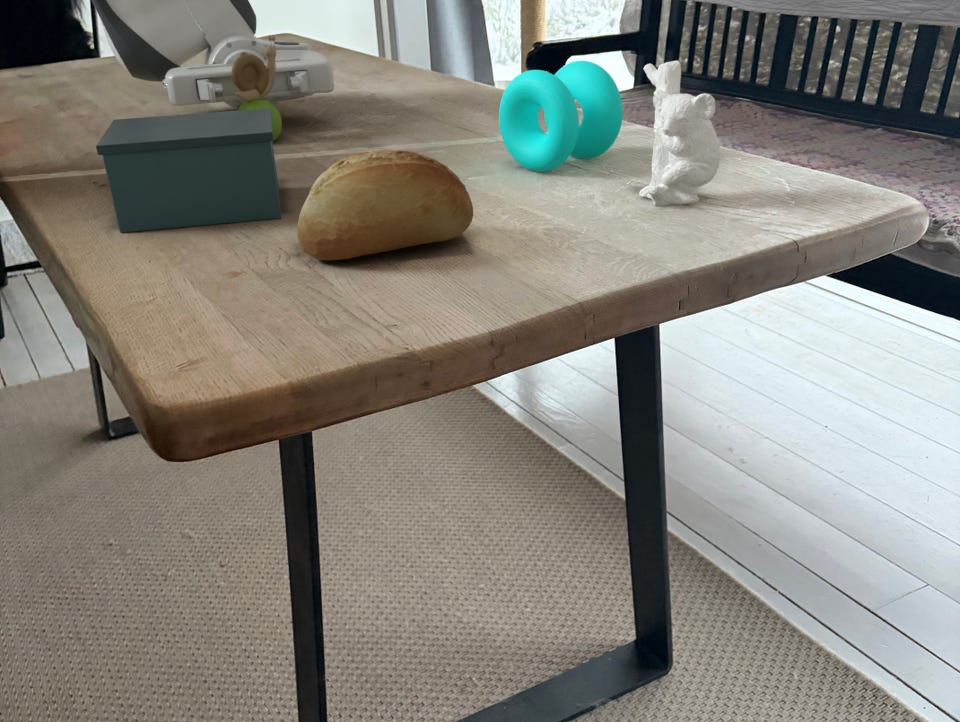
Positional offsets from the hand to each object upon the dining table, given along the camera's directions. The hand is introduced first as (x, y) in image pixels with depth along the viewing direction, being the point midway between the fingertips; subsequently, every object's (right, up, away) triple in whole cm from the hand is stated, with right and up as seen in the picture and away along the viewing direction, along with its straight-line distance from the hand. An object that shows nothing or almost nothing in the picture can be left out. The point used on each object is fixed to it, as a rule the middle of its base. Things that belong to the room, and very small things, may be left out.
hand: (257, 90), depth 112 cm
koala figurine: (+44, -19, -24) cm, 54 cm away
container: (0, -19, -20) cm, 28 cm away
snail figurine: (0, -5, +4) cm, 7 cm away
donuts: (+35, -12, -10) cm, 38 cm away
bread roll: (+19, -26, -33) cm, 46 cm away
